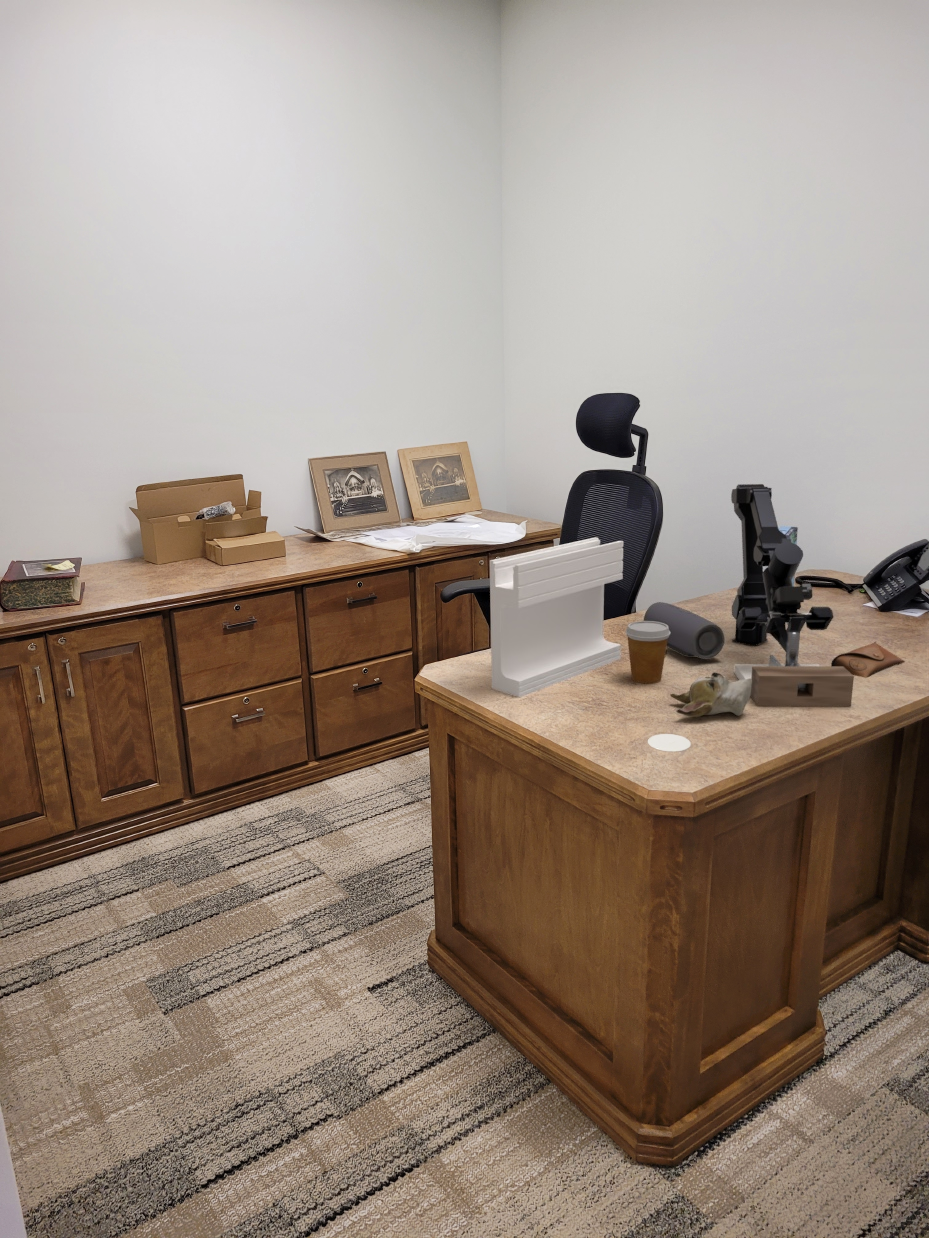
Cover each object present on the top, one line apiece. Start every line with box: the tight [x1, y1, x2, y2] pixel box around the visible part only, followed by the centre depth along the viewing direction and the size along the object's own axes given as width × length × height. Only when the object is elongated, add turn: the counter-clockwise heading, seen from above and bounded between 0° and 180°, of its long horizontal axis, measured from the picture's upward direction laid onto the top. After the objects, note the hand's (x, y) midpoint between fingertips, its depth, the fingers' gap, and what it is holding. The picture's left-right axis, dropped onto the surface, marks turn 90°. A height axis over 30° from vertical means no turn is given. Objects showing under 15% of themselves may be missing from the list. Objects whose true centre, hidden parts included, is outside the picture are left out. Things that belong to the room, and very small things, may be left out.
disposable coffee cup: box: [625, 620, 671, 684], centre depth 189 cm, size 10×10×12 cm
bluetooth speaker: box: [643, 601, 726, 660], centre depth 208 cm, size 23×9×10 cm, turn 18°
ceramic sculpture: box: [669, 672, 752, 718], centre depth 169 cm, size 11×9×15 cm
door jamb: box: [750, 665, 855, 707], centre depth 175 cm, size 6×18×6 cm, turn 86°
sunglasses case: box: [830, 641, 906, 679], centre depth 196 cm, size 18×7×7 cm
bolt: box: [784, 630, 806, 690], centre depth 177 cm, size 8×2×10 cm, turn 176°
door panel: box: [733, 654, 821, 681], centre depth 186 cm, size 11×18×5 cm, turn 86°
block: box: [489, 537, 624, 698], centre depth 192 cm, size 35×8×28 cm, turn 134°
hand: (790, 653), depth 182 cm, fingers closed, pressing on bolt
